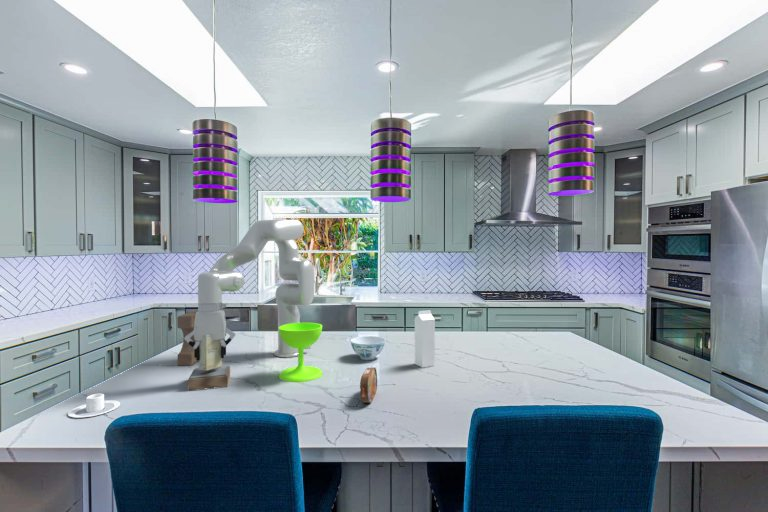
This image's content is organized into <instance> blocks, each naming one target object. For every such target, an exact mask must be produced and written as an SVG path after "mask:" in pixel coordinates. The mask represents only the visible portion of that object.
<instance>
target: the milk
mask: <svg viewBox="0 0 768 512" xmlns="http://www.w3.org/2000/svg"><path fill="white" fill-rule="evenodd" d="M435 322H436V319H435V317H434V316H433V314H432V310H431V309H428V310H418V313H417V316H415V317H414V364H415V365H416V366H418V367H420V368H428V367H429V366H430V367H435V365H436V364H435V363H436V362H435V361H436V358H435V356H436V343H435V342H436V325H435V324H436V323H435Z"/></svg>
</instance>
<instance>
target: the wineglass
mask: <svg viewBox="0 0 768 512" xmlns="http://www.w3.org/2000/svg"><path fill="white" fill-rule="evenodd" d="M322 331H323V325H322V324H321V323H318V322H317V323H316V322H300V323H291V324H285V325H282V326H280V327H279V334H280V336H281V338H282V340H283V341H284V342H285V343H286V344H287V345H289V346H290V347H293V348H297V349H298V356H297V358H298V360H297V364H298V365H297V366H292V367H289V368H285V369H284V370H282V371H281V372H280V373H279V375H278V379H279V378H280V380H281V379H282V380H281V381H283V380H284V382H288V381H290V382H289V383H304V381H305V382H310V381H309V380H311V381H314V379H315V380H316V379H319V378H321V377H322V376H323V374H322V373H323V371H322V370H321V368H319V367H316V366H310V365H307V366H306V365H305V363H304V349H303V348H306V347H309V346H310V347H312V345H314V344H315V343H316V342H317V341H318V340H319V339H320V338H321V335H322Z"/></svg>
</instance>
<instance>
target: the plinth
mask: <svg viewBox="0 0 768 512" xmlns="http://www.w3.org/2000/svg"><path fill="white" fill-rule="evenodd" d="M229 377H230V378H231V365H222V366H221V367H218V368H214V369H210V370H202V369H199V367H195V368H194V369H193V370H192V372H191V374H190V376H189V377H188V379H187V391H188V390H191V391H197V390H196V389H201V390H206V389H205V388H210V389H215V388H214V387H220V388H227V387H229V386H228V385H229V383H230V382H229V381H230V378H229ZM226 386H227V387H226Z"/></svg>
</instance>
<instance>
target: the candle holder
mask: <svg viewBox="0 0 768 512" xmlns="http://www.w3.org/2000/svg"><path fill="white" fill-rule="evenodd" d="M105 405H112V408H110V409H108V410H105V411H103V412H100V411H102V410H103V409H104V408H105ZM120 406H121V402H120V401H118V400H112V399H111V400H107V399H106V400H105V394H104V393H93V394H90V395H88V396H86V398H85V403H83V404H82V405H79V406H77V407H75V408H72V409H71V410H69V411H68V413H67V415H68V417H69V418H70V417H71V418H76V419H77V418H78V419H79V418H90V417H96V416H99V415H103V414H106V413H109V412H112V411H113V410H116V409H117V408H119V407H120ZM82 409H85V411H86V413H96V412H99V413H96V414H90V415H89V414H88V415H78V414H76V413H77V412H79V411H80V410H82Z"/></svg>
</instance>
